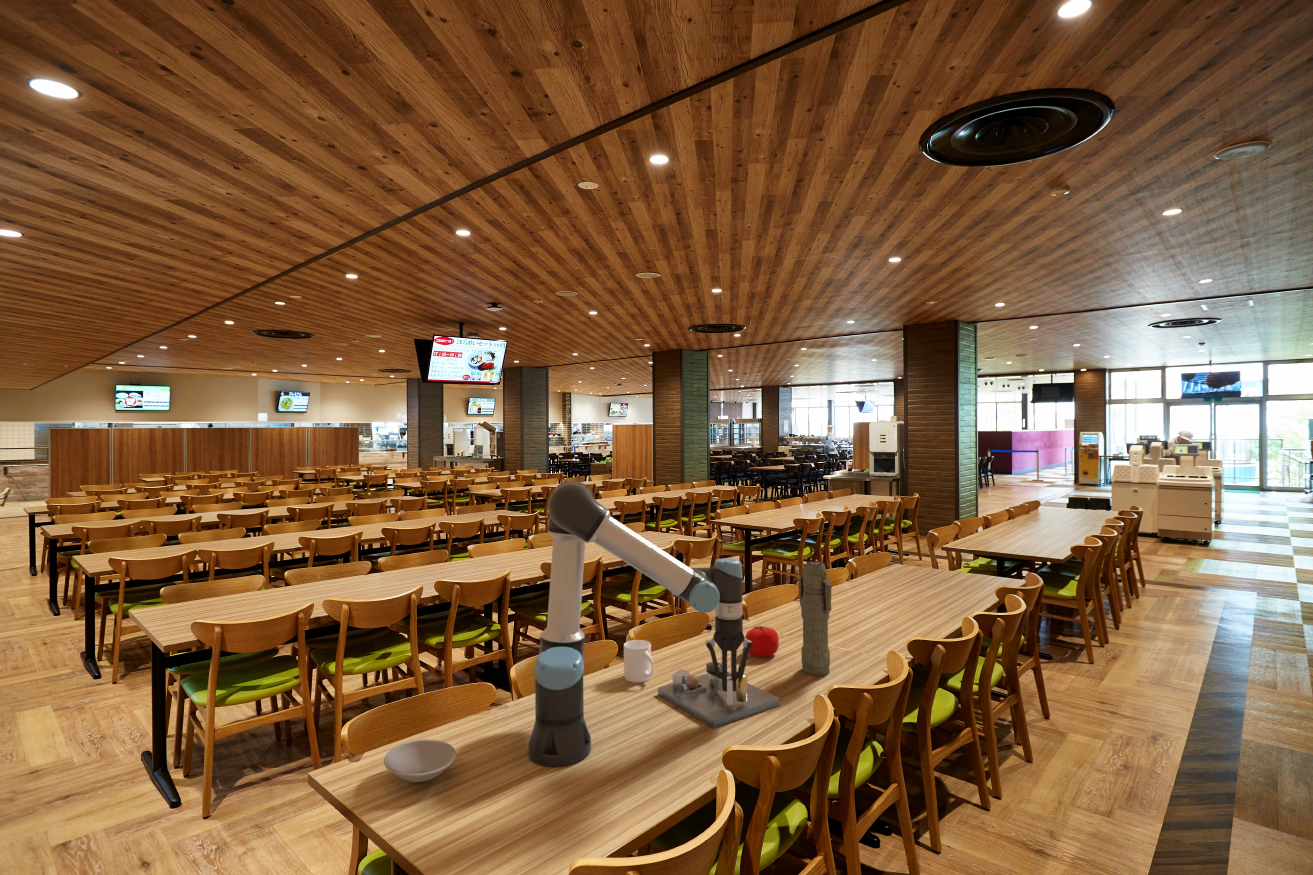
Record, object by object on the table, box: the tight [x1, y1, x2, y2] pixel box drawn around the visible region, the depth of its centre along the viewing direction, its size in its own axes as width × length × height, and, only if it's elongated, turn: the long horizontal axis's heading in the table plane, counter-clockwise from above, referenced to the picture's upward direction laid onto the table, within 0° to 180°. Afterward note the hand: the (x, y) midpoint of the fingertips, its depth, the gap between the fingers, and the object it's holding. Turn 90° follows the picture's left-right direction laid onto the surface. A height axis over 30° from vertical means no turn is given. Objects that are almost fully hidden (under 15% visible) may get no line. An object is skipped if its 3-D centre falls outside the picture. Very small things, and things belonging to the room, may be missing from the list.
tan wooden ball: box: [686, 674, 699, 689], centre depth 182 cm, size 4×4×4 cm
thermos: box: [798, 561, 832, 677], centre depth 200 cm, size 9×12×35 cm
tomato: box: [744, 625, 780, 658], centre depth 216 cm, size 11×13×10 cm
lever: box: [705, 661, 748, 702], centre depth 179 cm, size 5×19×7 cm, turn 25°
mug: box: [623, 639, 654, 684], centre depth 195 cm, size 9×12×11 cm
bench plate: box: [657, 668, 781, 729], centre depth 179 cm, size 24×26×6 cm
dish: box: [383, 738, 457, 783], centre depth 139 cm, size 18×14×5 cm
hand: (729, 702), depth 169 cm, fingers closed
